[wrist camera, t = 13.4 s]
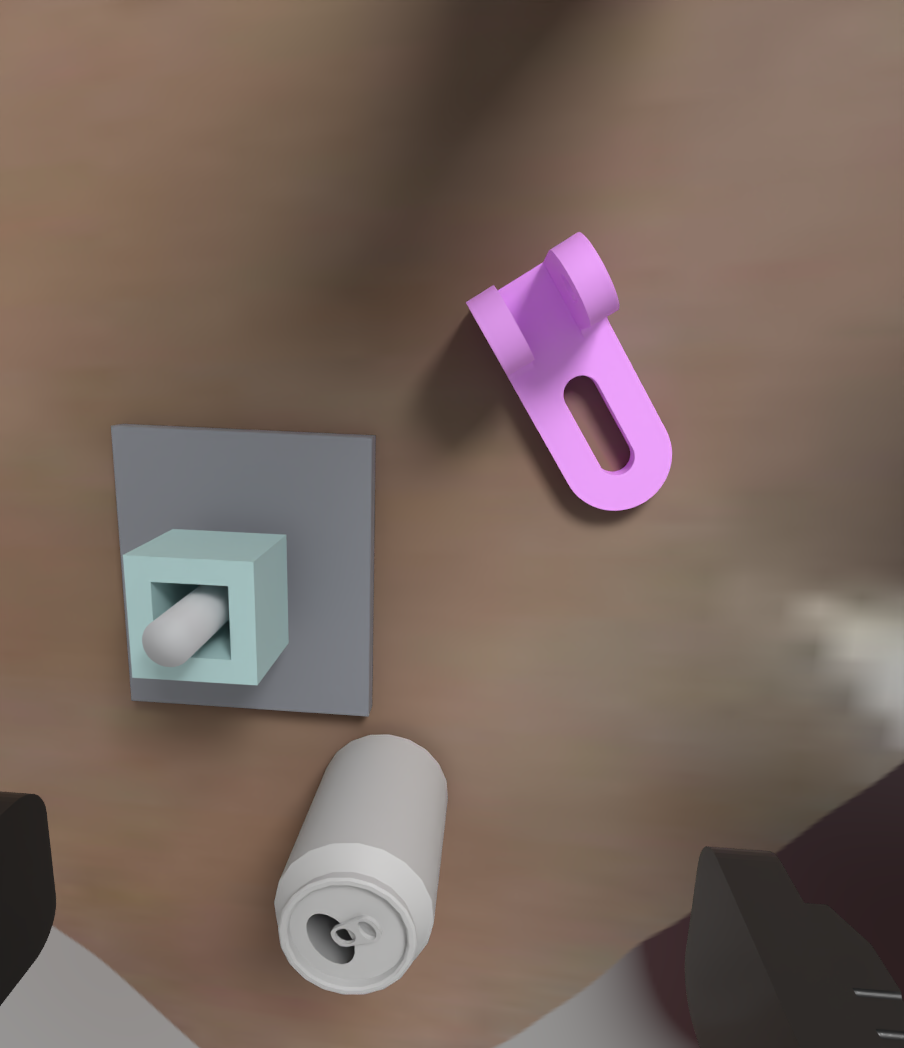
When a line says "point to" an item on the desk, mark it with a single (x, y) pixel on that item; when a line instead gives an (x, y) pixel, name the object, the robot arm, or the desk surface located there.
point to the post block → (271, 508)
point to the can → (365, 867)
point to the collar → (221, 560)
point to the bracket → (575, 370)
